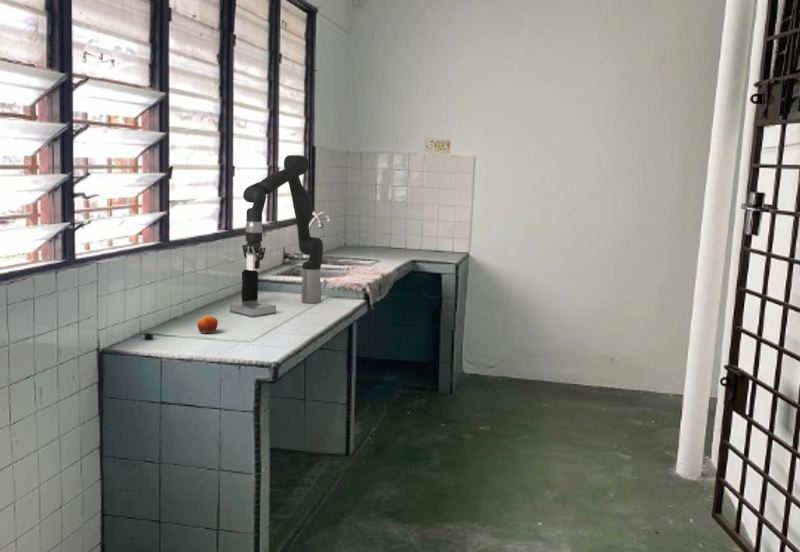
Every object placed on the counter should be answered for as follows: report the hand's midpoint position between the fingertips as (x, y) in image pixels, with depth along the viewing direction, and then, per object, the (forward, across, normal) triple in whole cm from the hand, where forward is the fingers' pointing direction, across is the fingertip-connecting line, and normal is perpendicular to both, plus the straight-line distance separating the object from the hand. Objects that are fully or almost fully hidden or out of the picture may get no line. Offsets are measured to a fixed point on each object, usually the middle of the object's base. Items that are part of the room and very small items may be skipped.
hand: (253, 267), depth 332 cm
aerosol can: (+21, +17, -12) cm, 30 cm away
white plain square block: (+1, 0, 0) cm, 1 cm away
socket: (+21, 0, 0) cm, 21 cm away
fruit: (+22, -19, +39) cm, 48 cm away
